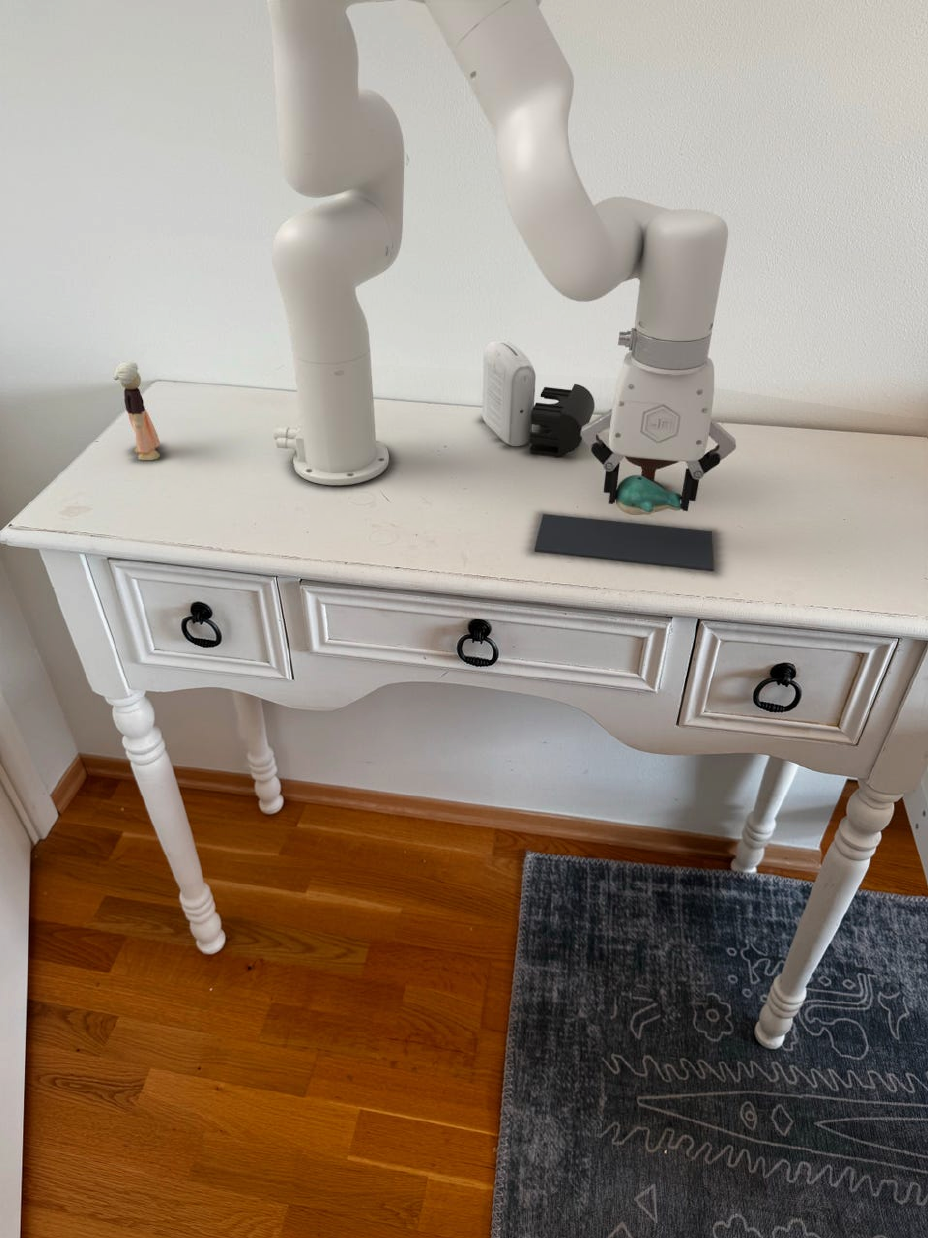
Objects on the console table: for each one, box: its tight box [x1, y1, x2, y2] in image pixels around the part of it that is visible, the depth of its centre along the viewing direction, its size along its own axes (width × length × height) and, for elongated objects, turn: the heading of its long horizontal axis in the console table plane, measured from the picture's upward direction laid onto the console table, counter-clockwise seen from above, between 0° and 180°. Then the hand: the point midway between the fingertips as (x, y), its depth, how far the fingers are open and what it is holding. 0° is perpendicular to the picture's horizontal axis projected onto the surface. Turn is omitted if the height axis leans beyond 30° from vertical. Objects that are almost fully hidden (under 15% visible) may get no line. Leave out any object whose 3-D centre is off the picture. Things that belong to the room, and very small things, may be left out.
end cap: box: [528, 383, 595, 458], centre depth 121 cm, size 10×7×7 cm
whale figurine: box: [615, 474, 682, 516], centre depth 99 cm, size 6×7×4 cm
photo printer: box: [481, 340, 537, 447], centre depth 122 cm, size 10×4×12 cm, turn 23°
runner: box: [533, 513, 714, 572], centre depth 103 cm, size 20×8×1 cm, turn 79°
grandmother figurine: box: [112, 361, 161, 461], centre depth 117 cm, size 8×4×13 cm, turn 35°
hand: (648, 500), depth 99 cm, fingers closed on whale figurine, 7 cm apart
